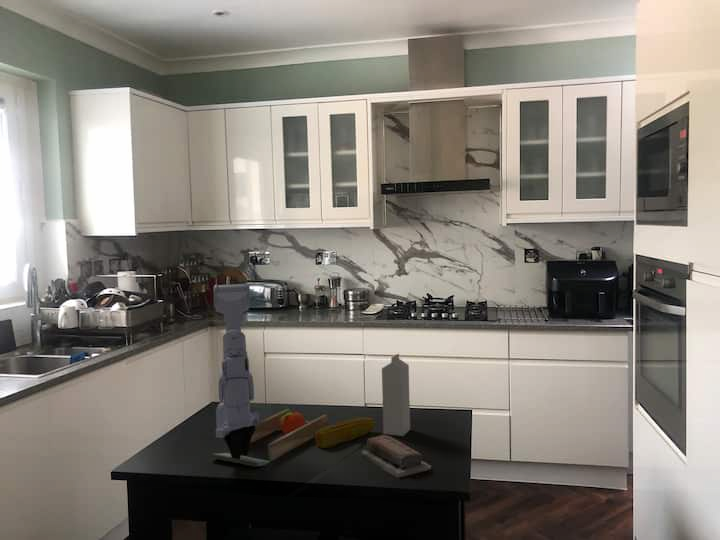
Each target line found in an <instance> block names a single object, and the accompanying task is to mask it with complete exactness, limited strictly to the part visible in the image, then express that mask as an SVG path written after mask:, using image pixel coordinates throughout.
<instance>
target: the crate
mask: <svg viewBox="0 0 720 540" xmlns="http://www.w3.org/2000/svg"><path fill="white" fill-rule="evenodd" d="M290 412H291V409H289V408H285V410H281V411H280V412H277V413H275V414H273V415H272V416H269V417H267V418H265V419H263V420H261V421H258V422H256V423H253V426H255V429H256V430H255V432H254V434H253V436H252V438H251V442H250V444H252V443H254V442H256V441H258V440H261V439H262V438H264V437H266V436H268V435H270V434H272V433H274V432H276V431H280V430H282V429H281V421H282V419H283V418H282V417H283V416H284V415H285V414H287V413H290ZM281 418H282V419H281ZM280 419H281V421H280ZM279 421H280V422H279ZM328 422H329V421H328V414H324V413H323V414H322V415H320V416H318V417H317V418H315V419H313V420H311V421H308V420H305V423H306V424H305V425H303V426H302V427H300V428H298V429H296V430H294V431H292V432H290V433H288V434H286V435H285V434H284V435H283V436H281V437H279V438H277V439H276V440H275V439H274V441H272V442H269V443H268V444H267V450H268V452H267V453H268V461H271V462H272V461H275V460H276V459H279V458H280V457H282V456H284V455H285V454H288V452H290V451H292V450H293V449H295V448H297V447H299V446H301V445H303V444H305V443H307V442H308V441H310V440H311V439H314V438H315V434H316V433H317V431H319V430H320V429H322V428H324V427H326V426H329V425H328ZM278 424H279V425H278ZM228 453H230V450H229V449H228Z"/></svg>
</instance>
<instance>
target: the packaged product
mask: <svg viewBox="0 0 720 540" xmlns="http://www.w3.org/2000/svg"><path fill="white" fill-rule="evenodd" d="M360 452H361V453H360V455H361V456H362V455H363V456H362V457H364V458H365V457H366V458H365V459H367V460H368V459H369V460H368V461H370V462H371V461H372V462H371V463H373V464H374V463H375V465H376V466H377V465H378V466H377V467H379V468H380V467H381V469H382V470H383V471H385V472H386V473H388V474H390V475H392V476H394V477H395V478H396V479H397V478H398V479H399V478H403V477H406V476H407V477H408V476H411V475H414V474H418V473H422V472H426V471H430V470H432V465H431V464H428V463H427V462H425V461H423V460H422V459H423V455H422V453H421V452H419V451H416V450H415V449H413V448H411V447H409V446H407V445H405V444H404V443H403V442H401V441H399V440H397V439H396V438H393V436H391V435H388V434H382V435H378V436H374V437H369V438H368V439H367V440H366V449H362V450H361V451H360Z"/></svg>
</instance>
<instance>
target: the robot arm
mask: <svg viewBox="0 0 720 540" xmlns="http://www.w3.org/2000/svg"><path fill="white" fill-rule="evenodd" d="M213 306H214V309H215V312H217V313H219V314H223V318H224V319H225V333H224V334H223V336H222V349H223V350H222V354H223V355H222V356H223V359H222V360H221V370H222V371H221V372H222V373H221V374H220V375H219V377H218V399H219V404H217V407H216V410H215V420H216V421H215V422H216V429H215V438H219V439H223V440H224V441H225V443H226V446H227V447H228V451H229V450H230V453H231V457H232V458H237V459H240V457H241V456H246V457H248V455H249V450H250V446H251V443H250V442H251V438H252V436H253V434H254V432H255V430H256V429H255V426H253V425H254V422H256V423H258V422H260V413H258V412H251V402H253V400H254V399H255V389H254V388H255V387H254V377H253V375H252V372H250V362H249V361H250V360H249V356H248V351H247V343H246V342H247V341H246V340H247V339H246V335H245V333H244V332H242V314H243V313H244V312H247V311H249V309H250V307H251V287H250V284H248V283H239V284H221V285H220V284H214V286H213Z"/></svg>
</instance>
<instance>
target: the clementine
mask: <svg viewBox="0 0 720 540" xmlns="http://www.w3.org/2000/svg"><path fill="white" fill-rule="evenodd" d="M282 418H283V419H282ZM282 418H281V419H282V421H281V419H280V421H281V429H282V433H283V434H284V436H285V435H286V434H288V433H290V432H292V431H294V430H296V429H298V428H300V427H302V426H303V425H305V424H306V423H305V421H306V420H305V418H304V416H303V415H302V414H301V413H299V412H296V411H290V413H287V414H285V415H284V416H283V417H282ZM280 421H279V422H280ZM278 425H279V424H278Z"/></svg>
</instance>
